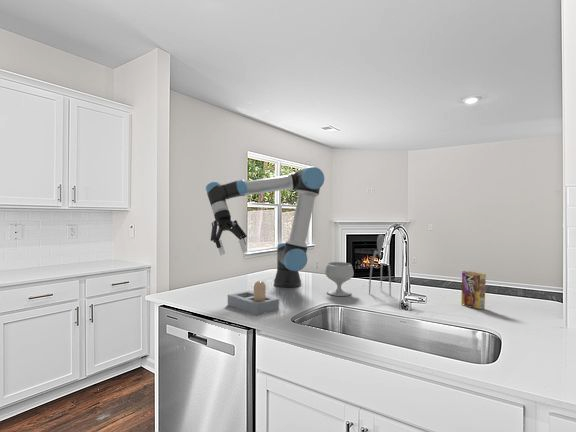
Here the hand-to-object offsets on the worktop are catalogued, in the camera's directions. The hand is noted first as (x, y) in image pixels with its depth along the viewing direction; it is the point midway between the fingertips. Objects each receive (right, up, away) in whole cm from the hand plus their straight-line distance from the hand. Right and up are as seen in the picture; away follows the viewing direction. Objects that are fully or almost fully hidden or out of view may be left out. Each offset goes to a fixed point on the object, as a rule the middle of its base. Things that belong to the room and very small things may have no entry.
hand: (234, 253), depth 166 cm
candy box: (+107, -23, -8) cm, 110 cm away
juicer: (+72, -22, +13) cm, 77 cm away
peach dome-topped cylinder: (+13, -21, -16) cm, 29 cm away
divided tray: (+10, -22, -13) cm, 27 cm away
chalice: (+51, -22, +12) cm, 56 cm away
